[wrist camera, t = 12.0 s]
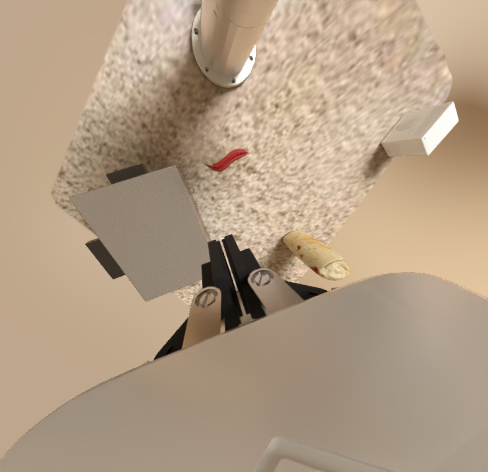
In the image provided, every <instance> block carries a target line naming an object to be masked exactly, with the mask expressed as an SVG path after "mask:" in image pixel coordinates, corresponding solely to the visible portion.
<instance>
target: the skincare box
mask: <svg viewBox="0 0 488 472" xmlns="http://www.w3.org/2000/svg"><path fill="white" fill-rule="evenodd" d="M457 122H458V116H457V113H456V109H455V105H454V102H449V103H445V104H441V105H437V106H432V107H428V108H424V109H419V110H415V111H410V112H406V113H405V114H404V115H403V116H402V117H401V119H400V120H399V121H398V122H397V124H396V125H395V126H394V127H393V128H392V130H391V131H390V132H389V133H388V135H387V136H386V137H385V138H384V139H383V141H382V142H381V144H382V146H383V148H384V150H385V151H386V153H387V155H388V156H389V157H395V156H428V155H429V154H430V153H431V152H432V151H433V149H434V148H435V147H436V146H437V145H438V144H439V143H440V141H441V140H442V139H443V138H444V137H445V136H446V135H447V134H448V132H449V131H450V130H451V129H452V128H453V127H454V126H455V124H456V123H457Z"/></svg>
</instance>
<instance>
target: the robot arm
mask: <svg viewBox="0 0 488 472" xmlns="http://www.w3.org/2000/svg"><path fill="white" fill-rule="evenodd" d="M344 1H350V2H352V1H357V0H344ZM277 2H278V0H202V6H201V8H200V9H199V10H198V12H197V14H196V16H195V18H194V21H193V26H192V48H193V53H194V56H195V60H196V62H197V64H198V66H199V68H200V69H201V71H202V73H203V74H204V75H205V76H206V77H207V78H208V79H209V80H210V81H211V82H212V83H214V84H216V85H218V86H221V87H224V88H231V87H236V86H238V85H240V84H241V83H242V82H244V81H245V79H246V78H247V77H248V75H249V74H250V72H251V70H252V68H253V65H254V61H255V53H256V46H255V45H256V43H257V41H258V39H259V37H260V35H261V33H262V31H263V29H264V27H265V26H266V24H267V22H268V20H269V18H270V16H271V14H272V12H273V10H274V8H275V6H276V4H277ZM195 33H197V35H196V34H195ZM249 59H250V60H251V61H250V60H249ZM206 70H207V71H208V72H206ZM232 81H233V82H234V83H232ZM224 238H225V239H223V240H222V242H223V245H224V248H225V251H226V255H227V258H228V261H229V264H230V267H231V270H232V273H233V276H234V279H235V282H236V285H237V288H238V291H239V294H240V297H241V300H242V303H243V306H244V309H245V312H246V315H247V314H250V315H251V318H252V319H256V320H254V321H251V322H248V323H246V324H243V325H241V326H239V324H242V323H241V319H240V317H242V316H243V313H242V309H241V306H240V303H239V299H238V296H237V293H236V289H235V286H234V283H233V280H232V276H231V273H230V270H229V267H228V264H227V261H226V259H225V256H224V253H223V250H222V247H221V244H220V241H217V242H216V240H213V241H210V242H208V249H209V256H210V262H207V263H204V264H202V265H201V269H202V288H203V289H202V290H200V291H199V292H198V293H197V294H196V295H195V296H194V297H193V300H192V303H191V308H190V313H189V317H188V318H187V319H186V321H185V322H184V323H183V324H182V325H181V326H180V328H179V329H178V330H177V331H176V332H175V334H174V335H173V336H172V337H171V338H170V339H169V340H168V342H167V343H166V344H165V345H164V346H163V347H162V349H161V350H160V351H159V352H158V354H157V355H156V356H155V358H154V360H153V361H151V362H149V361H147V362H146V363H144V364H142V365H141V366H139V367H137V368H134V369H132V370H129V371H127V372H125V373H123V374H120V375H118V376H116V377H114V378H111V379H109V380H107V381H105V382H102V383H100V384H98V385H96V386H94V387H92V388H91V389H88V390H87V391H85V392H83V393H81V394H79V395H78V396H76V397H74V398H73V399H71V400H69V401H68V402H66V403H65V404H63V405H62V406H60V407H59V408H57V409H56V410H55V411H53V412H52V413H51V414H49V415H48V416H46V417H45V418H44V419H42V420H41V421H40V422H38V423H37V424H36V425H35V426H34V427H32V428H31V429H30V430H29V431H28V432H27V433H26V434H24V435H23V436H22V437H21V438H20V439H19V440H18V441H17V442H16V443H15V444H14V445H13V446H12V447H11V448H10V449H9V450H8V451H7V452H6V453H5V455H4V456H3V457H2V458H1V460H0V472H488V298H487V297H485V296H483V295H481V294H479V293H476V292H474V291H472V290H470V289H467V288H465V287H463V286H460V285H458V284H456V283H453V282H451V281H448V280H445V279H442V278H440V277H436V276H433V275H430V274H425V273H415V272H402V273H388V274H383V275H376V276H373V277H369V278H365V279H362V280H359V281H356V282H353V283H350V284H347V285H344V286H341V287H338V288H332V289H331V291H327V290H324V289H321V288H317V287H311V286H307V285H302V284H298V283H293V282H288V281H284V280H283V279H282V278H281V277H280V276H279V275H278V274H277V273H276V272H275V271H273V270H272V269H269V268H261V267H260V265H259V264H258V262H257V260H256V259H255V257H254V255H253V253H252V252H251V250H250V249H249V248H248V249H245V250H243V251H240V250H239V248H238V246H237V244H236V242H235V240H234V237H233V235H232V234H231V235H228V236H225V237H224Z"/></svg>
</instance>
